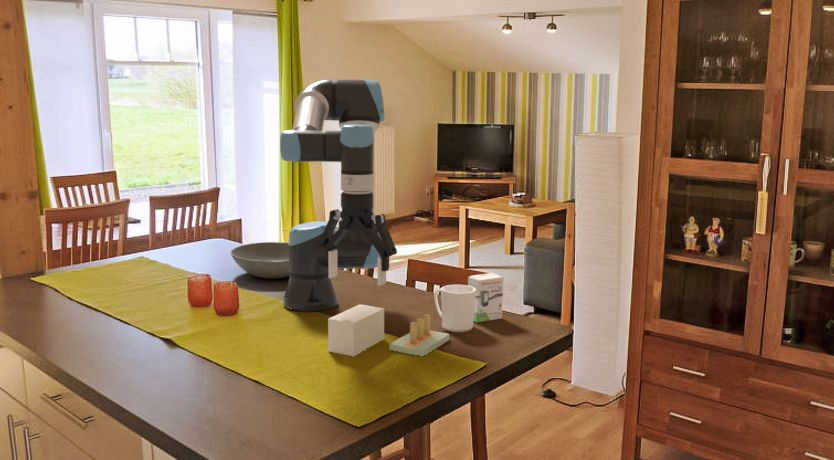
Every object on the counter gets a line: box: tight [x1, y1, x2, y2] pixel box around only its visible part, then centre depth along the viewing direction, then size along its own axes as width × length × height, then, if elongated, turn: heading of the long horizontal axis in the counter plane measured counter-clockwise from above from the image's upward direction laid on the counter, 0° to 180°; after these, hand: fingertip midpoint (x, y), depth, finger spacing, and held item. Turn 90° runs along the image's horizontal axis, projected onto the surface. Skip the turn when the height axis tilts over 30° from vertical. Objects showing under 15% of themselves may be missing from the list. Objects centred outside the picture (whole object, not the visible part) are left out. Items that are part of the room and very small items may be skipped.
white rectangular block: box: [327, 303, 385, 357], centre depth 189 cm, size 14×7×8 cm, turn 152°
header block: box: [389, 313, 450, 357], centre depth 190 cm, size 9×14×6 cm, turn 152°
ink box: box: [467, 272, 505, 323], centre depth 212 cm, size 9×5×12 cm, turn 121°
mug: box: [433, 284, 476, 333], centre depth 204 cm, size 11×9×10 cm
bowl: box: [230, 241, 289, 280], centre depth 255 cm, size 27×28×8 cm
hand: (357, 280), depth 186 cm, fingers open, 13 cm apart
